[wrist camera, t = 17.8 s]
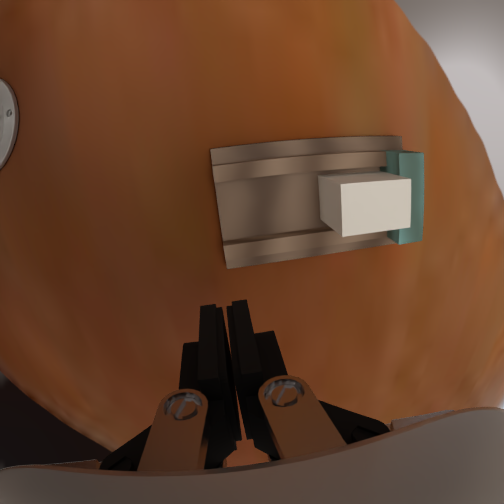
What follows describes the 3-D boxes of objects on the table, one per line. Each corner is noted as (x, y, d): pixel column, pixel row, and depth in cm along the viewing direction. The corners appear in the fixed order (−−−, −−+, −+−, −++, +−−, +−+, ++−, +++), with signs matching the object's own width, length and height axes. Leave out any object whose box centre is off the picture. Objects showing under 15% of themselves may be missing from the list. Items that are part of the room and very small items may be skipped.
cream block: (320, 219, 32) (342, 236, 27) (317, 175, 31) (340, 184, 25) (380, 212, 33) (410, 227, 27) (379, 170, 31) (411, 178, 26)
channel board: (226, 263, 34) (229, 286, 29) (210, 149, 30) (209, 150, 25) (395, 238, 36) (421, 254, 31) (394, 135, 31) (422, 137, 26)
